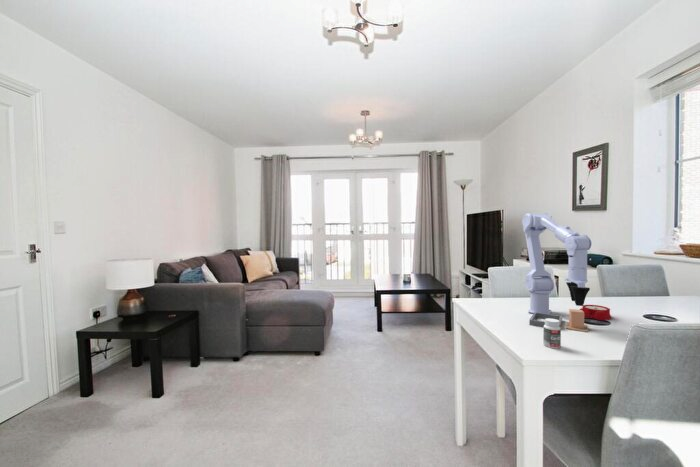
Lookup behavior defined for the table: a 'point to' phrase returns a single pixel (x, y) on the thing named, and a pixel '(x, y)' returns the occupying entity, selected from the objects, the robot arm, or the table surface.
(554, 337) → the pill bottle
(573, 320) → the block
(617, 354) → the table surface
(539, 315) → the gray rectangular frame
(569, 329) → the walnut pad
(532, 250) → the robot arm
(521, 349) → the table surface
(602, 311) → the alarm clock
